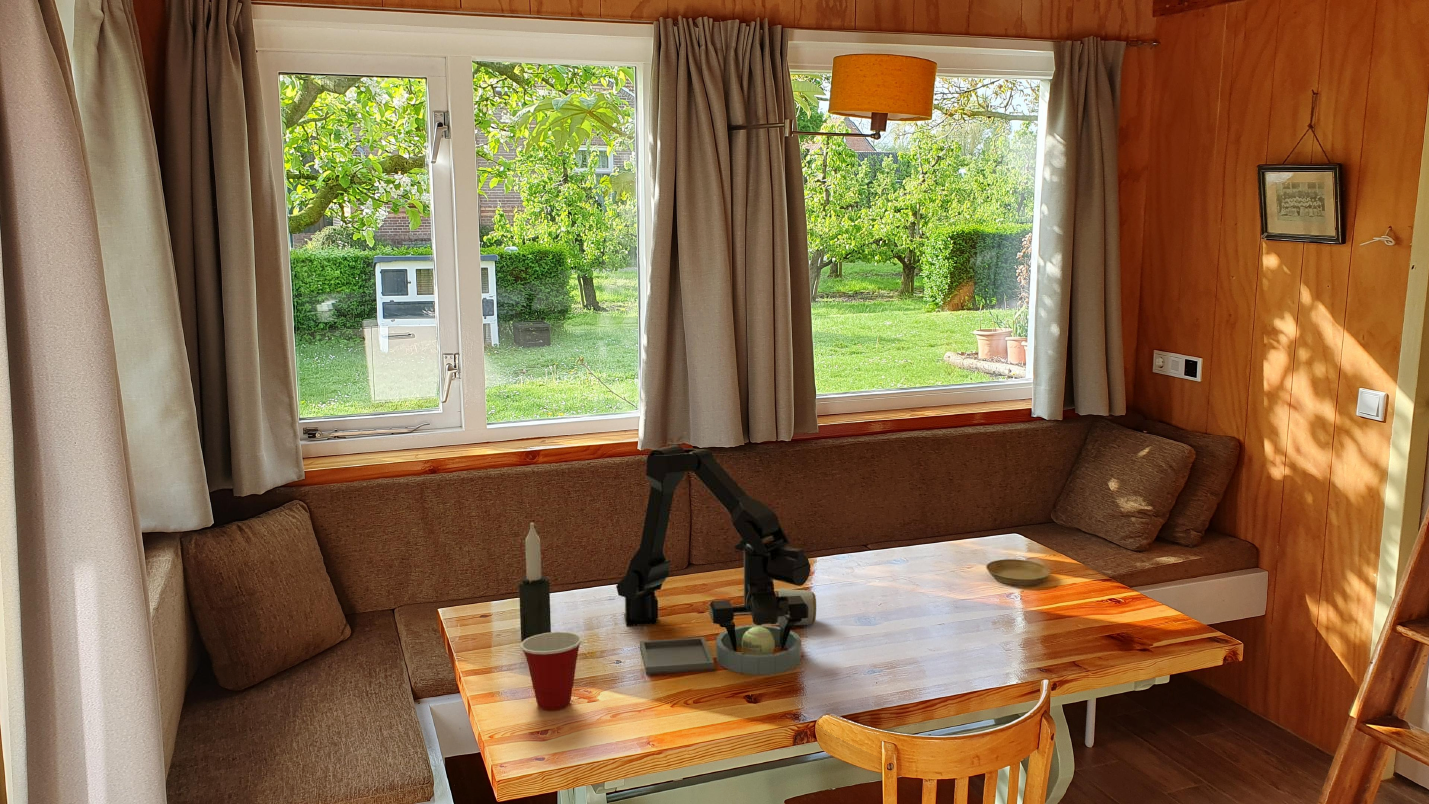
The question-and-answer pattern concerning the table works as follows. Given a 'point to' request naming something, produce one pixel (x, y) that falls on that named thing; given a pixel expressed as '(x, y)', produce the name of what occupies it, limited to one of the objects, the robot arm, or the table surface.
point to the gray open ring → (758, 662)
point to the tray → (676, 655)
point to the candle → (534, 592)
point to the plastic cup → (552, 667)
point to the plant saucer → (1018, 572)
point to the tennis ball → (758, 641)
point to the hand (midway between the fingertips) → (758, 651)
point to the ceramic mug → (808, 598)
